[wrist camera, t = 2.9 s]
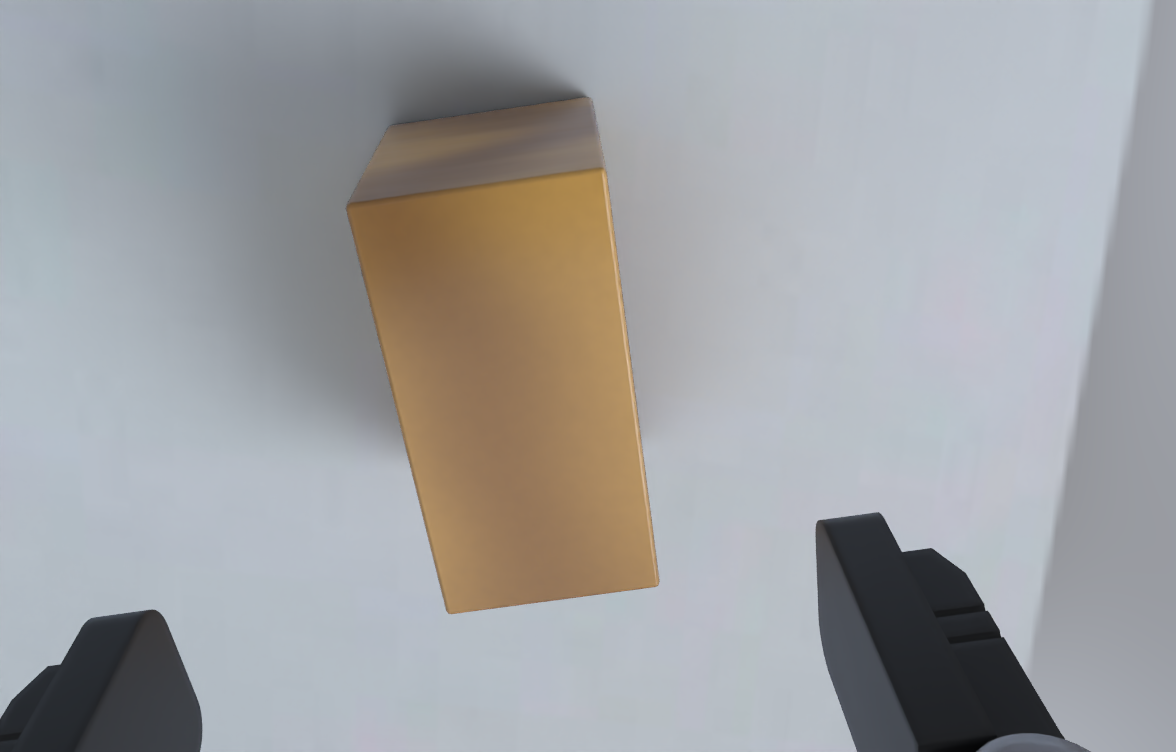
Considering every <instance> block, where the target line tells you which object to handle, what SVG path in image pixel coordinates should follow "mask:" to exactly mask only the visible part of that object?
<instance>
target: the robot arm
mask: <svg viewBox="0 0 1176 752" xmlns="http://www.w3.org/2000/svg"><path fill="white" fill-rule="evenodd" d="M816 559H817V585H818V611H819V626H820V635H821V641H822V646H823V652H824V656H825V660H826V664H827V668H828V671H829V674H830V677H831V680H832V682H833V685H834V688H835V691H836V694H837V696H838V699H839V702H840V705H841V707H842V710H843V713H844V716H845V719H846V721H847V724H848V727H849V730H850V732H851V735H852V738H853V741H854V744H855V746H856V749H857V752H1090V751H1089V750H1087V749H1085V748H1083V747H1081V746H1079V745H1077V744H1075V743H1072V742H1070V741H1067V740H1065V738H1064V737H1063V736H1062V734H1061V733H1060V731H1059V729H1058V728H1057V726H1056V724H1055V723H1054V721H1053V719H1052V718H1051V716H1050V714H1049V712H1048V711H1047V709H1046V707H1045V706H1044V704H1043V702H1042V701H1041V699H1040V697H1039V696H1038V694H1037V692H1036V691H1035V689H1034V687H1033V686H1032V684H1031V682H1030V681H1029V679H1028V677H1027V676H1026V674H1025V672H1024V670H1023V669H1022V667H1021V665H1020V664H1019V662H1018V660H1017V659H1016V657H1015V655H1014V654H1013V652H1012V650H1011V649H1010V647H1009V645H1008V644H1007V642H1006V640H1005V639H1004V637H1002V638H1001V636H1000V630H999V628H998V627H997V625H996V623H995V622H994V620H993V618H992V617H991V615H990V613H989V612H988V611H985V607H984V603H983V602H982V600H981V598H980V597H979V595H978V593H977V592H976V590H975V588H974V587H973V585H972V583H971V581H970V580H969V578H968V576H967V575H966V573H965V572H963V571H962V570H961V569H959V568H958V567H957V566H955V565H954V564H952V563H951V562H950V561H948V560H947V559H946V558H944V557H943V556H942V555H940V554H939V553H938V552H936V551H935V550H933V549H932V548H929V549H922V550H915V551H907V552H901V550H900V548H899V546H898V544H897V542H896V540H895V538H894V536H893V534H892V532H891V531H890V529H889V527H888V525H887V523H886V521H885V519H884V518H883V516H882V515H881V514H880V513H879V512H878V513H870V514H862V515H855V516H848V517H840V518H833V519H826V520H818V521H817V524H816ZM201 742H202V717H201V710H200V706H199V703H198V700H197V697H196V695H195V692H194V690H193V687H192V685H191V682H190V680H189V677H188V675H187V672H186V670H185V667H184V665H183V662H182V660H181V657H180V655H179V652H178V650H177V647H176V645H175V642H174V640H173V637H172V635H171V632H170V630H169V627H168V625H167V623H166V621H165V619H164V617H163V616H162V615H161V614H160V613H159V612H158V611H156V610H146V611H139V612H131V613H124V614H117V615H109V616H102V617H95V618H91V619H89V620H88V621H87V622H86V623H85V624H84V625H83V627H82V628H81V630H80V632H79V634H78V635H77V637H76V639H75V641H74V642H73V644H72V646H71V648H70V649H69V651H68V653H67V655H66V656H65V658H64V660H63V662H62V663H61V665H54V666H48V667H47V668H46V669H44V670H43V671H42V672H41V673H40V674H39V675H38V676H37V677H36V678H35V679H34V680H33V681H32V682H31V683H30V684H28V685H27V686H26V687H25V688H24V689H23V690H22V691H21V692H20V693H19V694H18V695H17V696H16V697H15V698H14V699H12V701H11V702H10V704H9V706H8V707H7V709H6V710H5V712H4V714H3V715H2V717H1V719H0V752H200V748H201Z"/></svg>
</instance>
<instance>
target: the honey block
mask: <svg viewBox="0 0 1176 752" xmlns="http://www.w3.org/2000/svg"><path fill="white" fill-rule="evenodd" d="M346 211H347V215H348V219H349V223H350V227H351V231H352V235H353V239H354V243H355V247H356V251H357V255H358V259H359V263H360V267H361V271H362V275H363V279H364V283H365V287H366V291H367V295H368V299H369V303H370V307H371V311H372V315H373V319H374V323H375V327H376V331H377V335H378V339H379V343H380V347H381V351H382V355H383V359H384V363H385V367H386V371H387V375H388V379H389V383H390V387H391V391H392V395H393V399H394V403H395V407H396V411H397V415H398V419H399V423H400V427H401V431H402V435H403V440H404V444H405V448H406V452H407V456H408V460H409V464H410V468H411V472H412V476H413V480H414V484H415V488H416V492H417V496H418V500H419V504H420V508H421V512H422V516H423V520H424V524H425V528H426V532H427V536H428V540H429V544H430V548H431V552H432V556H433V560H434V564H435V568H436V572H437V576H438V580H439V584H440V588H441V592H442V596H443V600H444V604H445V608H446V611H447V612H448V614H455V613H463V612H471V611H478V610H486V609H493V608H501V607H508V606H516V605H523V604H531V603H538V602H546V601H553V600H561V599H568V598H576V597H583V596H591V595H598V594H606V593H613V592H621V591H628V590H636V589H643V588H651V587H656V586H658V584H659V573H658V565H657V558H656V550H655V542H654V535H653V527H652V519H651V511H650V504H649V496H648V488H647V481H646V473H645V465H644V457H643V450H642V442H641V434H640V426H639V419H638V411H637V403H636V396H635V388H634V380H633V372H632V365H631V357H630V349H629V341H628V334H627V326H626V318H625V311H624V303H623V295H622V287H621V280H620V272H619V264H618V257H617V249H616V241H615V233H614V226H613V218H612V210H611V202H610V195H609V187H608V179H607V172H606V167H605V161H604V156H603V151H602V146H601V141H600V136H599V131H598V126H597V121H596V116H595V111H594V106H593V101H592V99H591V98H589V97H584V98H577V99H570V100H563V101H556V102H549V103H543V104H536V105H529V106H522V107H515V108H508V109H501V110H494V111H487V112H481V113H474V114H467V115H460V116H453V117H446V118H439V119H432V120H425V121H419V122H412V123H405V124H398V125H391V126H389V127H388V128H387V130H386V131H385V133H384V135H383V137H382V139H381V141H380V143H379V145H378V147H377V148H376V150H375V152H374V154H373V156H372V158H371V160H370V162H369V163H368V165H367V167H366V169H365V171H364V173H363V175H362V177H361V178H360V180H359V182H358V184H357V186H356V188H355V190H354V192H353V194H352V195H351V197H350V199H349V201H348V203H347V205H346Z"/></svg>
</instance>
